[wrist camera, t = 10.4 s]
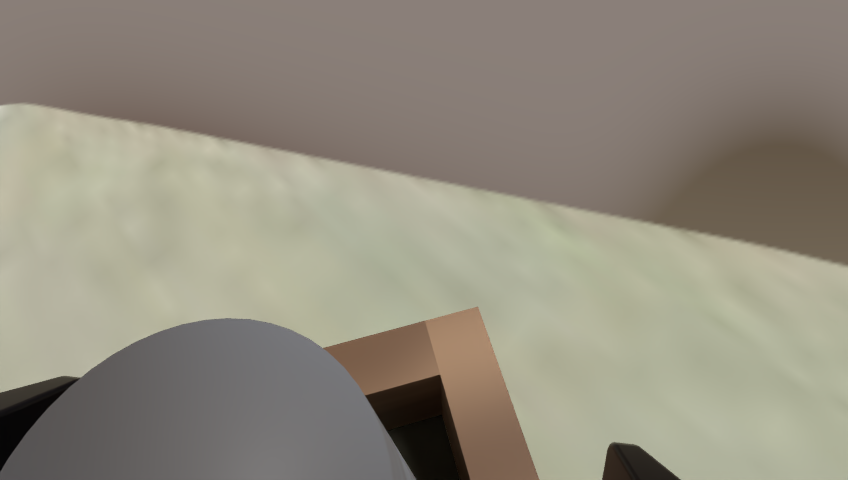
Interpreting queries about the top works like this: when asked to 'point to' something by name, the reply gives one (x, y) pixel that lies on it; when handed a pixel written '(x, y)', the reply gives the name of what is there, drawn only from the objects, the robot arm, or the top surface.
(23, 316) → the top surface
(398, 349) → the walnut square holder
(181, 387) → the slate dowel
